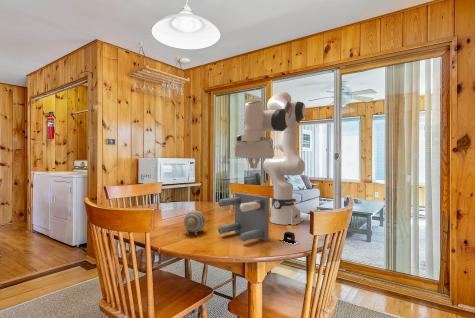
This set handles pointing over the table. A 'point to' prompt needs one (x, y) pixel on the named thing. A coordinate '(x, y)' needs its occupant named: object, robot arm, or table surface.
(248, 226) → the stool
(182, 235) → the table surface
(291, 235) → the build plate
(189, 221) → the toy sheep
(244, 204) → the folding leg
